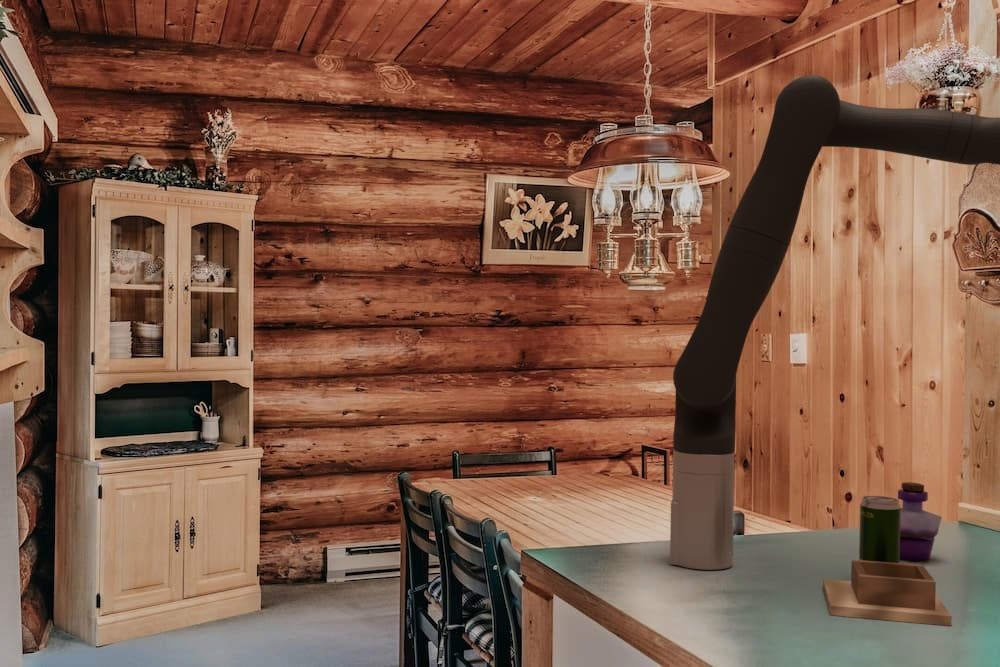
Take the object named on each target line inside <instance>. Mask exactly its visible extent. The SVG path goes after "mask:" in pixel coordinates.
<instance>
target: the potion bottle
mask: <svg viewBox="0 0 1000 667" xmlns="http://www.w3.org/2000/svg"><path fill="white" fill-rule="evenodd" d="M928 496H929V493H928V491H925V484H922V483H919V482H912V481H911V482H904V481H903V482H902V483H901V489H898V490H897V499H898V500H901V501H902V507H901V517H900V561H903V562H910V563H928V562H930V561H931V560H932V559H931V555H932V551H933V547H934V542H935V539H936V538H935V537H936V536H937V535H938V534H939V530H940V529H939V528H940V525H941V521H942V516H941V515H938V514H935V513H932V512H929V511H926V510H924V509H923V505H924V504H923V503H925V502H927V501H928V499H929V498H928Z"/></svg>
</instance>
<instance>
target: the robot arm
mask: <svg viewBox="0 0 1000 667" xmlns="http://www.w3.org/2000/svg"><path fill="white" fill-rule="evenodd" d="M766 138H767V139H766V141H765V145H764V148H763V151H762V154H761V157H760V159H759V162H758V164H757V167H756V168H755V171H754V172H753V175H752V177H751V179H750V181H749V182H748V184H747V187H746V188H745V190H744V193H743V194H742V196H741V199H740V201H739V203H738V205H737V207H736V209H735V210H734V211H735V212H734V214H733V216H732V218H731V221H730V224H729V225H728V229H727V231H726V233H725V236H724V239H723V242H722V244H721V247H720V249H719V252H718V255H717V259H716V262H715V265H714V268H713V272H712V275H711V279H710V282H709V287H708V291H707V295H706V299H705V302H704V306H703V309H702V311H701V314H700V316H699V318H698V321H697V323H696V325H695V328H694V330H693V332H692V334H691V336H690V338H689V340H688V342H687V343H686V345H685V347H684V349H683V351H682V353H681V354H680V356H679V358H678V360H677V361H676V364H675V366H674V369H673V376H672V379H673V380H672V381H673V386H674V388H675V405H674V406H675V410H674V412H675V413H674V425H673V434H672V435H673V436H672V437H673V439H672V440H673V442H672V446H673V448H672V449H673V451H672V452H673V453H672V494H671V495H672V500H671V502H670V536H669V537H670V539H669V540H670V541H669V542H670V543H669V544H670V545H669V565H674V566H675V565H676V566H679V567H684V568H689V569H695V570H703V571H705V570H706V571H709V570H710V571H712V570H713V571H714V570H716V571H717V570H723V569H728V568H731V567H733V565H734V562H733V560H734V559H733V558H734V509H735V508H734V506H735V505H734V504H735V501H734V500H735V498H734V497H735V454H736V453H735V448H736V447H735V446H736V445H735V444H736V424H737V423H736V422H737V421H736V414H737V413H736V412H737V411H736V407H737V373H738V369H739V365H740V360H741V357H742V354H743V350H744V347H745V343H746V339H747V336H748V334H749V331H750V329H751V326H752V324H753V322H754V320H755V318H756V316H757V315H758V313H759V311H760V309H761V308H762V305H763V304H764V302H765V301H766V299H767V297H768V294H769V293H770V291H771V289H772V287H773V284H774V283H775V281H776V279H777V276H778V274H779V272H780V270H781V266H782V264H783V262H784V259H785V257H786V255H787V252H788V249H789V246H790V244H791V241H792V238H793V234H794V231H795V229H796V225H797V221H798V218H799V214H800V211H801V208H802V202H803V199H804V194H805V191H806V186H807V182H808V181H809V180H808V179H809V177H810V174H811V172H812V169H813V167H814V164H815V163H816V160H817V159H818V156H819V154H820V152H821V150H822V148H823V147H829V148H830V147H831V148H832V147H835V148H837V147H838V148H855V149H857V148H858V149H867V150H875V151H882V152H889V153H894V154H901V155H907V156H913V157H917V158H923V159H928V160H929V159H930V160H934V161H941V162H946V163H952V164H959V165H966V166H976V165H982V164H992V165H1000V117H987V116H982V115H979V114H971V113H965V112H959V111H958V112H957V111H954V110H953V111H952V110H947V109H938V108H937V109H936V108H926V107H925V108H922V107H920V108H919V107H918V108H916V107H915V108H912V107H911V108H908V107H907V108H905V107H904V108H892V107H891V108H888V107H875V106H874V107H873V106H867V105H860V104H856V103H851V102H848V101H845V100H841V98H840V95H839V94H838V91H837V89H836V88H835V85H833V83H832V82H830V80H828V78H825V77H823V76H820V75H817V74H808V75H803V76H801V77H797V78H795V79H794V80H792V81H791V82H789V83H788V84H787V85H786V86H784V88H782V90H781V91H780V93H779V94H778V96H777V98H776V99H775V104H774V111H773V115H772V118H771V123H770V127H769V131H768V135H767V137H766Z"/></svg>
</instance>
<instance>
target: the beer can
mask: <svg viewBox="0 0 1000 667" xmlns="http://www.w3.org/2000/svg"><path fill="white" fill-rule="evenodd" d="M861 500H862V501H861V502H860V504H859V539H858V540H859V545H858V546H859V547H858V548H859V549H858V555H859V556H858V560H865V561H878V562H891V563H901V562H900V561H901V560H900V517H901V508H902V507H901V505H900V499H898V498H895V497H891V496H883V495H865V496H862V497H861Z"/></svg>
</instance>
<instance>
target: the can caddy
mask: <svg viewBox="0 0 1000 667" xmlns="http://www.w3.org/2000/svg"><path fill="white" fill-rule="evenodd" d="M850 571H851V572H850V574H851V575H850V579H851V580H842V579H841V580H840V579H838V580H837V579H827V578H823V579H822V589H823V593H824V596H825V600H826V603H827V608H828V611H829V614H830V616H837V617H848V618H859V619H870V620H880V621H893V622H903V623H914V624H915V623H916V624H925V625H927V624H928V625H936V626H947V627H948V626H949V627H952V620H953V618H952V614H951V613H950V611H948V609H947V608H946V606H945V604H944V603H943V602H942V600H941V599H940V598H939V596H938V595H937V593H936V589H937V588H936V587H937V584H936V581H935V579H934V578H933V576H932V575H931V574H930V573H929V571H928V570H927V569H926V567H925V566H924V565H923V564H917V563H901V562H900V563H891V562H878V561H865V560H859V559H851V568H850Z"/></svg>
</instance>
